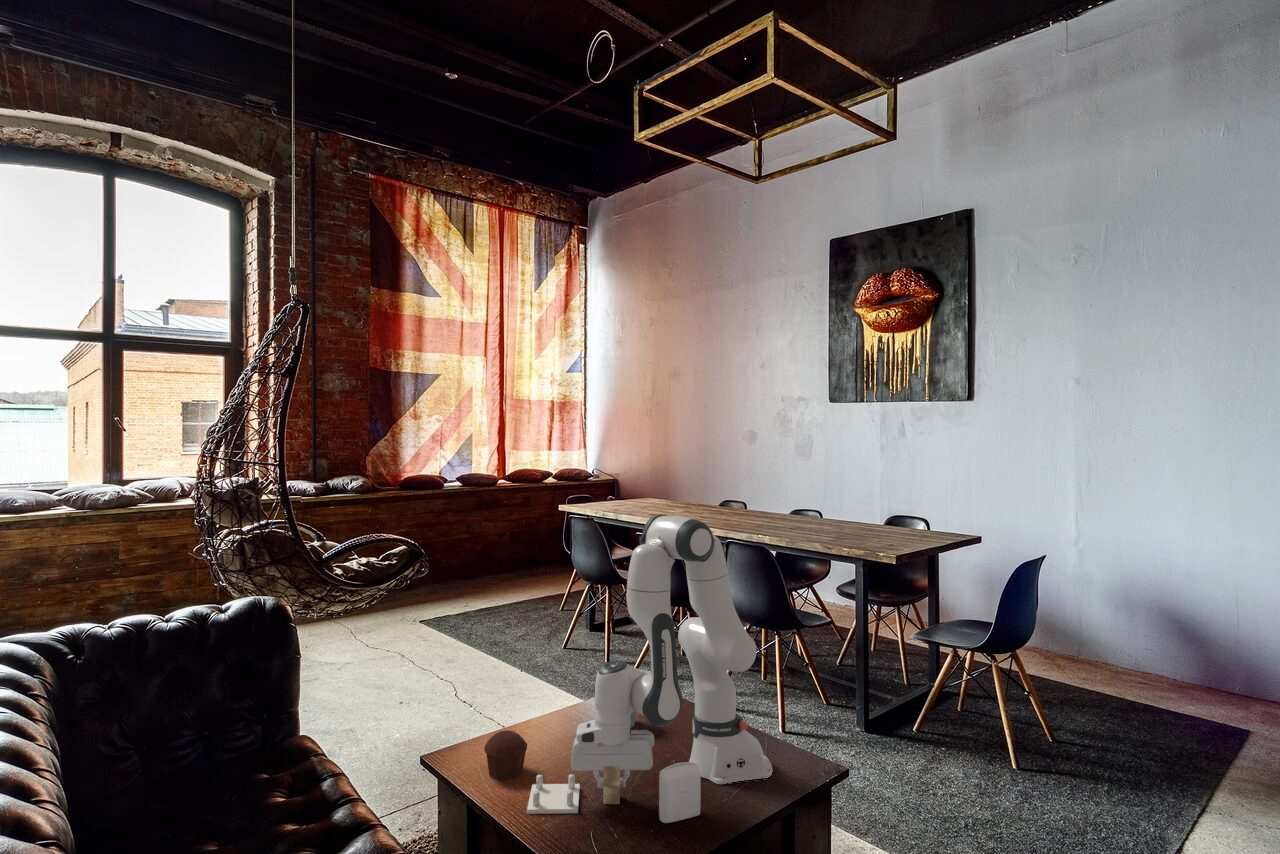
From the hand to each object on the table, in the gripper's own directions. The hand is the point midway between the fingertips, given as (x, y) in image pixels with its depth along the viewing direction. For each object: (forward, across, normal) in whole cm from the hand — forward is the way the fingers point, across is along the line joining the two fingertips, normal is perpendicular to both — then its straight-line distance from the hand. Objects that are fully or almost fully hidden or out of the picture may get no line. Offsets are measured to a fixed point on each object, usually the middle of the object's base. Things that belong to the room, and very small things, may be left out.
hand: (611, 786), depth 173 cm
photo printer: (+4, -16, +8) cm, 18 cm away
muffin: (+4, +28, -15) cm, 32 cm away
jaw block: (+3, 0, 0) cm, 3 cm away
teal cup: (+3, -3, -45) cm, 45 cm away
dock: (+3, +14, 0) cm, 14 cm away
